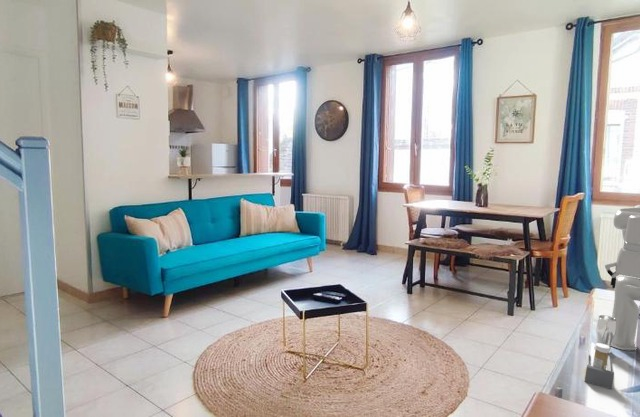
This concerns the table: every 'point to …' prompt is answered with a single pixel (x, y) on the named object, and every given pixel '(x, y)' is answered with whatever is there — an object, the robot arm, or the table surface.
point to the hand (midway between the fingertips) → (628, 289)
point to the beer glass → (605, 330)
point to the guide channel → (598, 374)
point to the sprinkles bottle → (601, 355)
